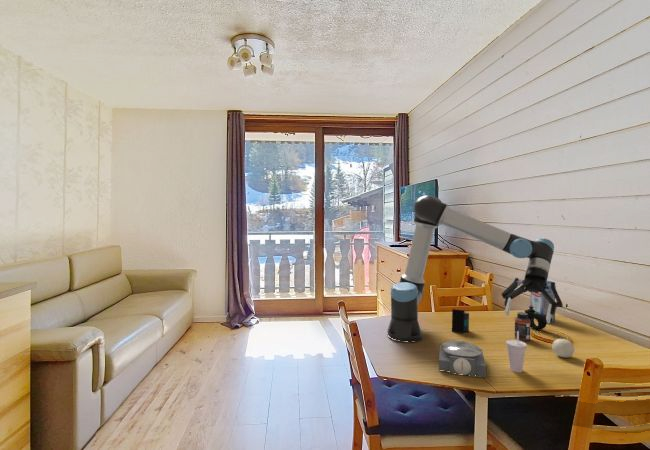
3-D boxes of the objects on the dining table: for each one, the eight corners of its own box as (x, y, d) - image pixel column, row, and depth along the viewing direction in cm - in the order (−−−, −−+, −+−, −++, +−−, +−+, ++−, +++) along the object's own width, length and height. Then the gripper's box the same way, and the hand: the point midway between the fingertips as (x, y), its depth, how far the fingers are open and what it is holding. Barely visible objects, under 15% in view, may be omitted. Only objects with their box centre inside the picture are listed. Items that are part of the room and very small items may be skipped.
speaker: (463, 334, 151) (463, 311, 152) (451, 331, 155) (451, 309, 156) (471, 331, 156) (471, 309, 156) (459, 329, 160) (459, 307, 161)
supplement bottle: (532, 342, 141) (532, 315, 141) (517, 341, 143) (517, 315, 142) (527, 336, 147) (527, 311, 147) (512, 336, 149) (512, 311, 148)
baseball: (577, 357, 126) (578, 340, 126) (569, 362, 122) (569, 344, 122) (557, 351, 132) (558, 334, 132) (549, 355, 128) (549, 338, 128)
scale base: (438, 372, 116) (438, 355, 116) (440, 353, 131) (439, 339, 131) (486, 379, 111) (486, 361, 110) (481, 359, 126) (481, 343, 125)
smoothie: (519, 376, 113) (519, 335, 112) (501, 368, 118) (501, 329, 118) (530, 371, 116) (531, 332, 115) (513, 364, 121) (513, 326, 121)
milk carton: (554, 322, 166) (555, 282, 165) (542, 322, 166) (542, 282, 165) (542, 316, 176) (542, 278, 175) (530, 316, 176) (530, 278, 175)
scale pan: (442, 355, 117) (442, 352, 117) (442, 341, 129) (442, 338, 129) (482, 360, 113) (482, 357, 113) (479, 345, 125) (479, 343, 125)
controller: (529, 325, 162) (529, 304, 162) (553, 333, 151) (553, 311, 150) (522, 326, 161) (522, 305, 161) (546, 334, 149) (546, 312, 149)
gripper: (576, 281, 127) (568, 330, 117) (506, 273, 145) (493, 315, 135) (574, 269, 123) (565, 319, 113) (501, 263, 141) (488, 305, 131)
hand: (526, 317), depth 124 cm, fingers open, 13 cm apart
